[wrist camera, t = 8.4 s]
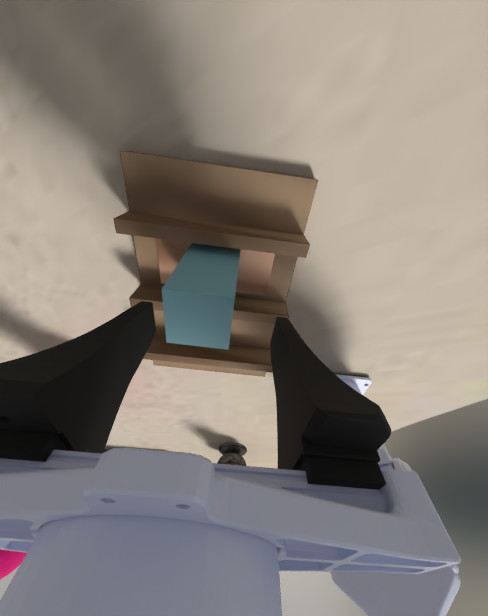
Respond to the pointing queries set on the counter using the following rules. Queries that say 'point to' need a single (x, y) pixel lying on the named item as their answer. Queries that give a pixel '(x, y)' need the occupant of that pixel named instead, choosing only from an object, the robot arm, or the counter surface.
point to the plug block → (201, 297)
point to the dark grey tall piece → (232, 454)
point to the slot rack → (217, 232)
